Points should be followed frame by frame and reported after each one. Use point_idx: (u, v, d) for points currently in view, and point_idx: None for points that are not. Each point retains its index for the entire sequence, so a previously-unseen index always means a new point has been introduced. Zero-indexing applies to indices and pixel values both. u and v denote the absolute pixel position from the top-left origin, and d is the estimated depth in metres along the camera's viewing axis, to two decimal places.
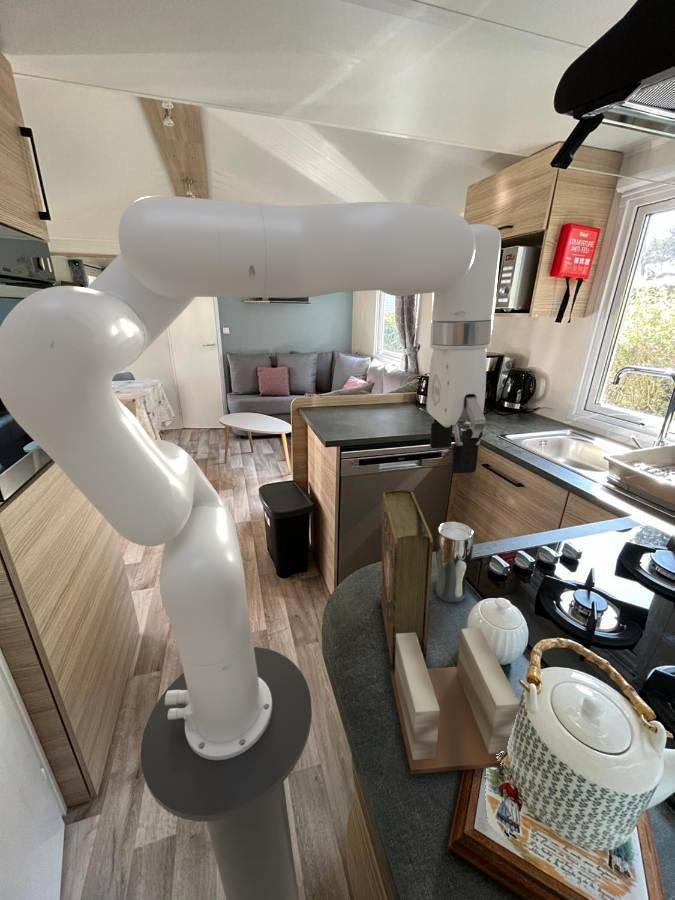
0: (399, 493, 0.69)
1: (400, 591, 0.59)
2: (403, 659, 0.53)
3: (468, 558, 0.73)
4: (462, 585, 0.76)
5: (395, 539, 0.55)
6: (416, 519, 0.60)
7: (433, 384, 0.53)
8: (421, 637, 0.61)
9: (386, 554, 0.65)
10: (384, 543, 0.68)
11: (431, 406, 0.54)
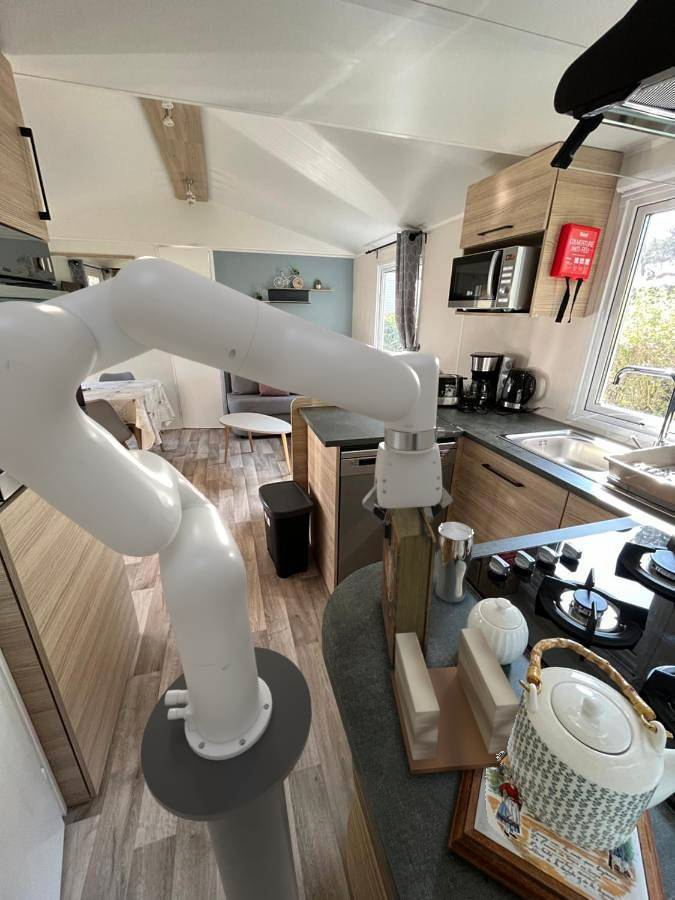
0: None
1: (401, 591, 0.59)
2: (403, 659, 0.53)
3: (468, 558, 0.73)
4: (462, 585, 0.76)
5: (398, 538, 0.55)
6: (419, 519, 0.60)
7: None
8: (422, 637, 0.61)
9: (388, 554, 0.65)
10: (386, 543, 0.68)
11: None
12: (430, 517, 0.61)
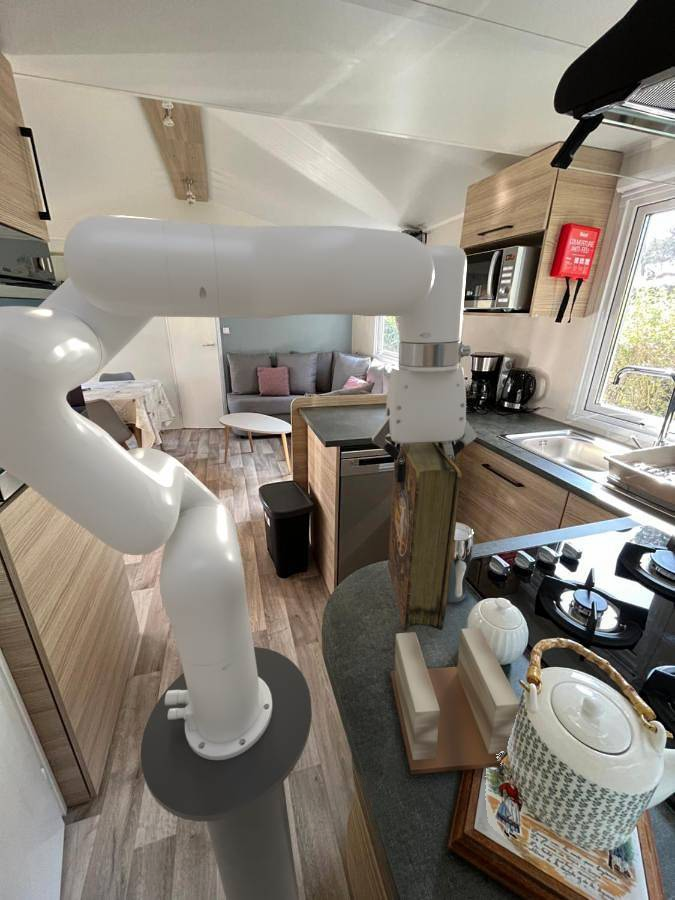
0: None
1: (418, 540, 0.50)
2: (403, 659, 0.53)
3: (468, 558, 0.73)
4: (462, 585, 0.76)
5: (417, 472, 0.46)
6: (438, 457, 0.51)
7: None
8: (439, 596, 0.53)
9: (399, 502, 0.56)
10: (396, 492, 0.59)
11: None
12: (451, 455, 0.52)
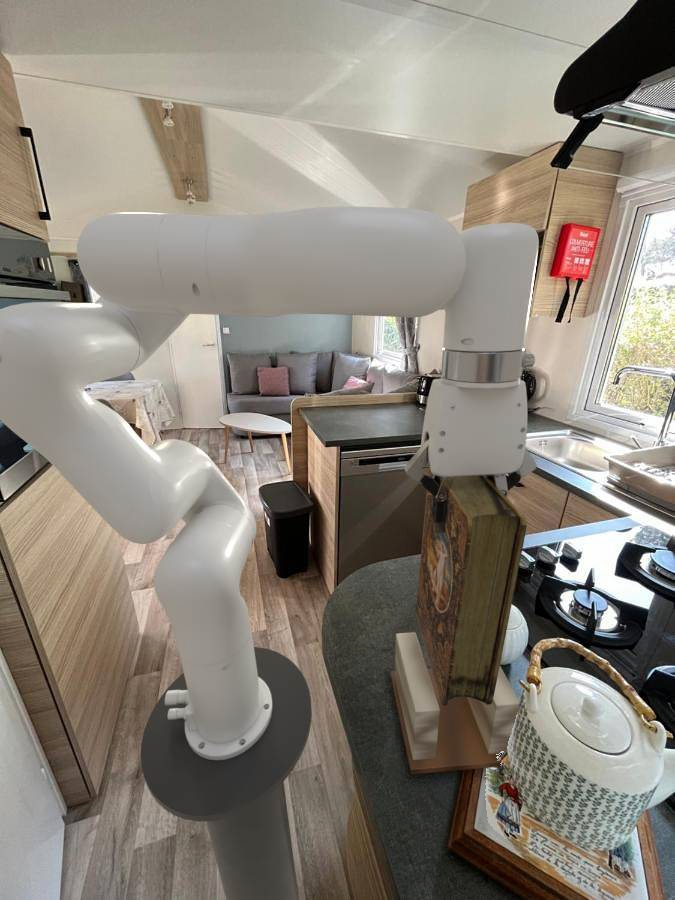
0: None
1: (465, 599, 0.40)
2: (403, 659, 0.53)
3: None
4: None
5: (469, 519, 0.35)
6: (489, 493, 0.41)
7: None
8: (488, 665, 0.42)
9: (436, 545, 0.46)
10: (430, 530, 0.49)
11: None
12: (503, 491, 0.42)
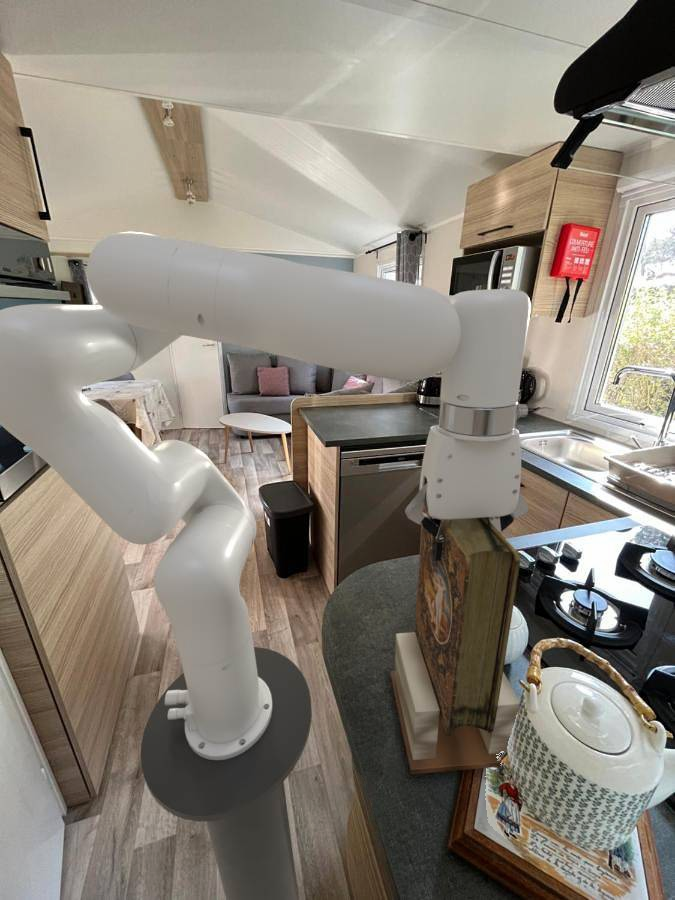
0: None
1: (464, 632, 0.41)
2: (403, 659, 0.53)
3: None
4: None
5: (466, 557, 0.38)
6: (482, 527, 0.43)
7: None
8: (489, 694, 0.44)
9: (433, 577, 0.48)
10: (427, 562, 0.50)
11: None
12: None
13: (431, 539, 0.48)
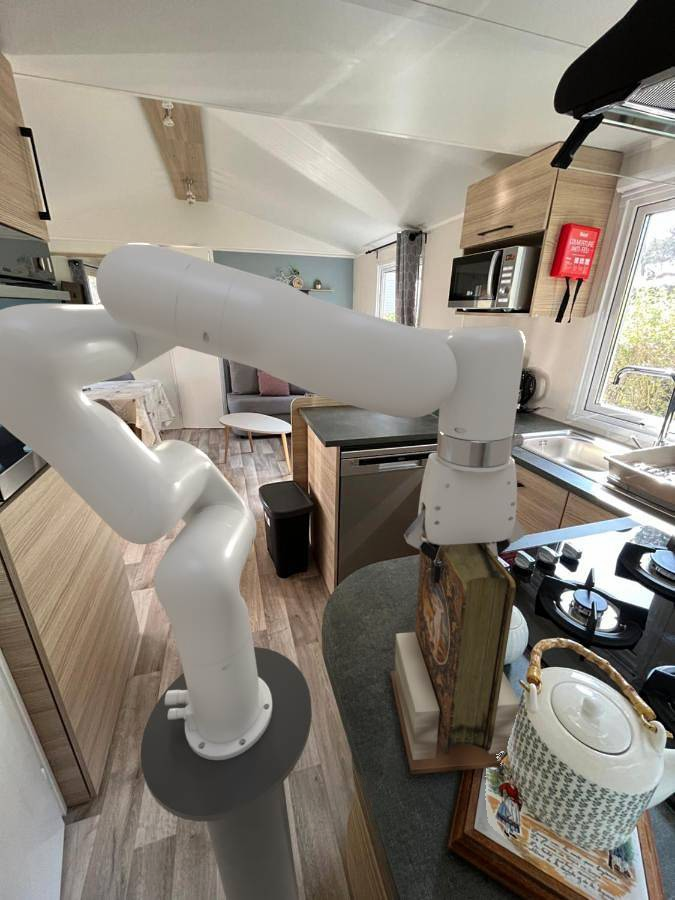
0: None
1: (462, 654, 0.43)
2: (403, 659, 0.53)
3: None
4: None
5: (463, 584, 0.39)
6: (479, 551, 0.45)
7: None
8: (486, 713, 0.45)
9: (432, 598, 0.49)
10: (426, 582, 0.52)
11: None
12: None
13: (430, 561, 0.49)
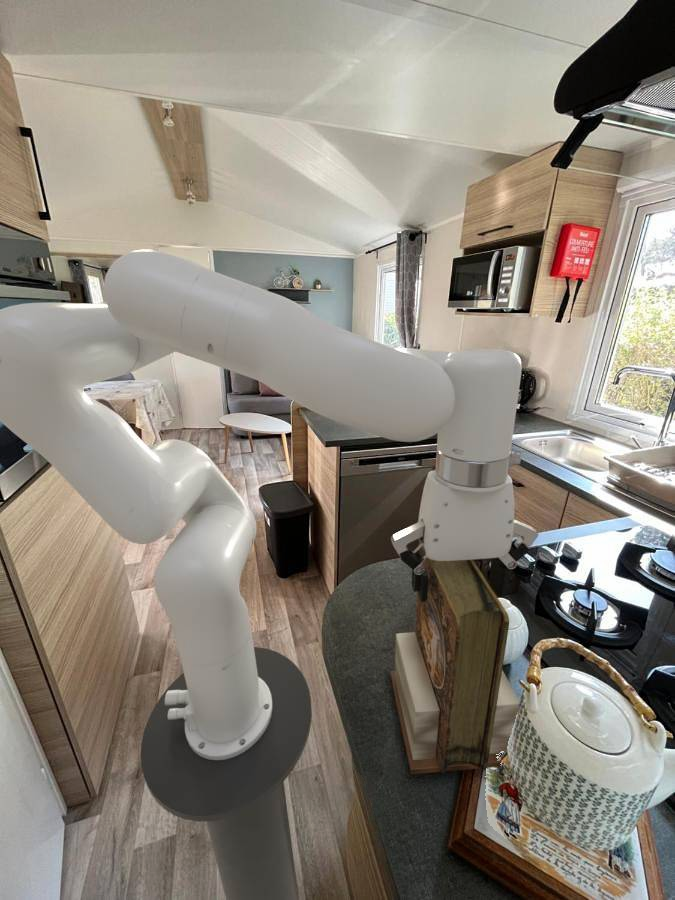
0: None
1: (457, 682, 0.43)
2: (403, 659, 0.53)
3: None
4: None
5: (457, 619, 0.39)
6: (475, 580, 0.45)
7: None
8: (482, 735, 0.46)
9: (429, 621, 0.50)
10: (423, 604, 0.52)
11: None
12: (513, 562, 0.45)
13: None
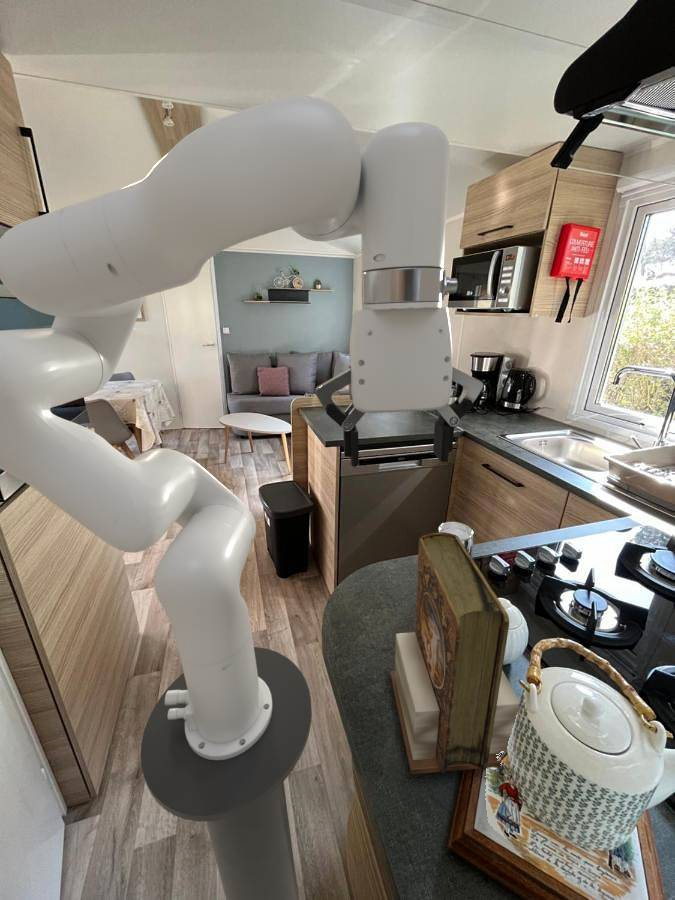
0: (440, 538, 0.53)
1: (457, 682, 0.43)
2: (403, 659, 0.53)
3: None
4: None
5: (457, 619, 0.39)
6: (474, 580, 0.45)
7: None
8: (482, 735, 0.46)
9: (429, 621, 0.50)
10: (423, 604, 0.52)
11: None
12: (454, 418, 0.39)
13: (426, 585, 0.50)
